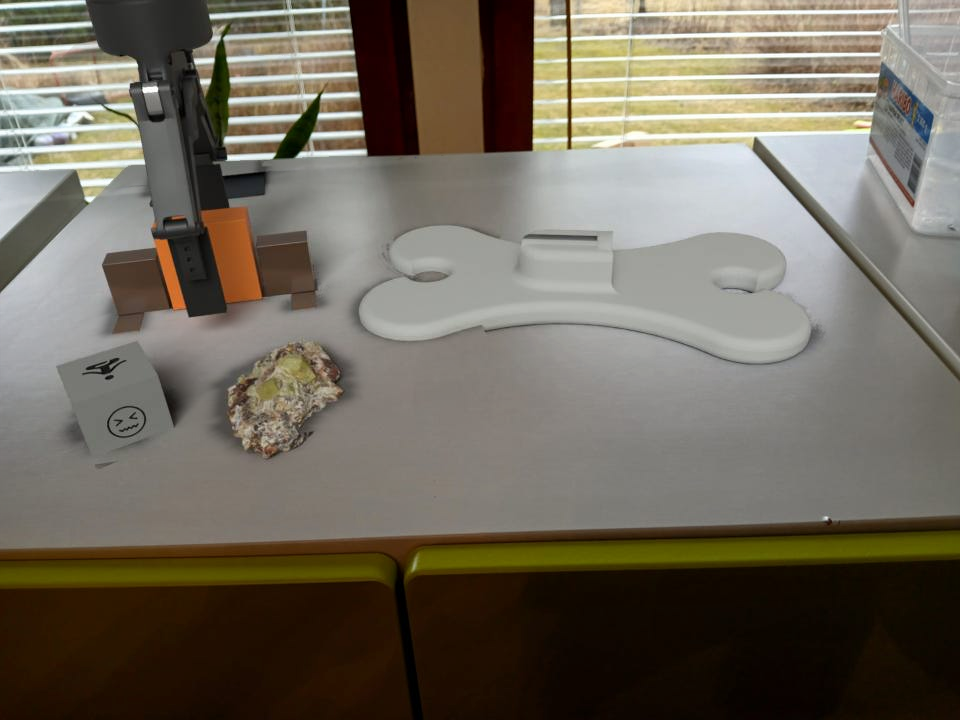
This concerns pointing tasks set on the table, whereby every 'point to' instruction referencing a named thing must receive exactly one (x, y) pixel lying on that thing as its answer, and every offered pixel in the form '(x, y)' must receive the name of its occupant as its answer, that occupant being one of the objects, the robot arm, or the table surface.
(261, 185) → the mat
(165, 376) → the table surface
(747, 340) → the holder
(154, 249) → the stand
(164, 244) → the orange flat square block
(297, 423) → the mineral rock
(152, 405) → the dice cube
